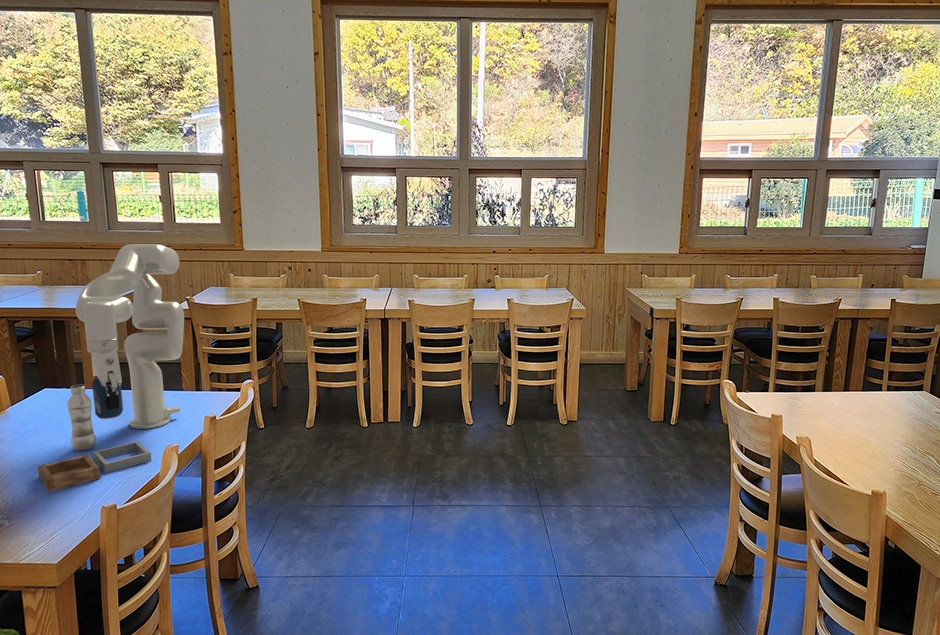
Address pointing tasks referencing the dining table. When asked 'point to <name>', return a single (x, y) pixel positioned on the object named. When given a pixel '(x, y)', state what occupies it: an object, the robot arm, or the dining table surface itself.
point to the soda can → (100, 401)
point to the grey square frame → (125, 462)
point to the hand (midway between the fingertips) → (108, 404)
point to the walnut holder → (68, 472)
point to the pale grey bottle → (81, 419)
